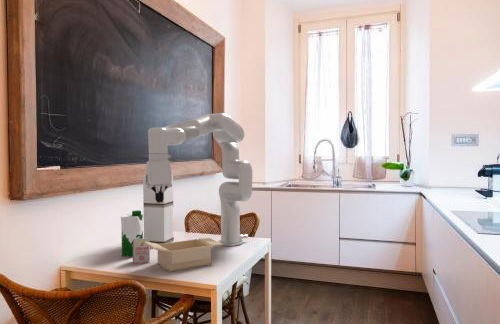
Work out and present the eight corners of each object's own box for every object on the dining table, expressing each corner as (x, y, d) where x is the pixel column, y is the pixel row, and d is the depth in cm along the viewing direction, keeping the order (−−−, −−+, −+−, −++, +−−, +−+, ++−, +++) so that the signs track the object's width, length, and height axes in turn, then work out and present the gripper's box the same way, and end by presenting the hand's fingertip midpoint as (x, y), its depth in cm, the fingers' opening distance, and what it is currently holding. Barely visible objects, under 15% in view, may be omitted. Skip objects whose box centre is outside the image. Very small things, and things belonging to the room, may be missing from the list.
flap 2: (198, 239, 171) (209, 239, 174) (211, 245, 160) (222, 245, 163) (198, 238, 171) (209, 238, 174) (211, 244, 160) (223, 243, 163)
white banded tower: (173, 240, 203) (173, 174, 202) (164, 245, 193) (163, 175, 192) (154, 239, 206) (153, 174, 205) (143, 244, 196) (143, 175, 195)
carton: (196, 256, 172) (196, 238, 172) (211, 264, 159) (211, 245, 159) (157, 262, 162) (156, 244, 162) (170, 272, 150) (169, 251, 149)
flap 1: (156, 243, 161) (144, 241, 158) (167, 250, 150) (154, 247, 147) (156, 245, 161) (144, 242, 158) (167, 251, 150) (154, 249, 147)
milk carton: (138, 257, 171) (137, 212, 171) (118, 256, 172) (118, 212, 172) (145, 252, 180) (145, 209, 180) (127, 251, 181) (126, 209, 181)
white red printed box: (133, 261, 165) (133, 238, 165) (150, 260, 167) (149, 237, 167) (132, 263, 162) (132, 239, 162) (149, 262, 163) (149, 239, 163)
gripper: (172, 157, 165) (173, 199, 166) (137, 158, 157) (138, 202, 158) (179, 157, 159) (180, 201, 160) (143, 158, 151) (144, 205, 152)
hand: (159, 202), depth 159 cm, fingers closed
